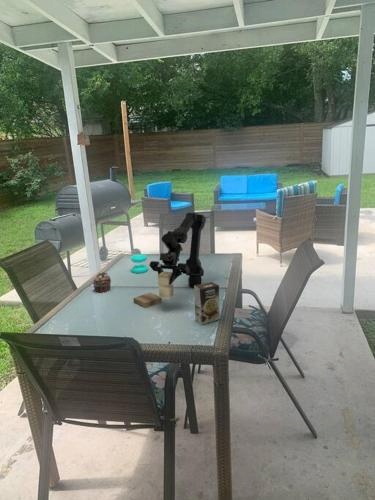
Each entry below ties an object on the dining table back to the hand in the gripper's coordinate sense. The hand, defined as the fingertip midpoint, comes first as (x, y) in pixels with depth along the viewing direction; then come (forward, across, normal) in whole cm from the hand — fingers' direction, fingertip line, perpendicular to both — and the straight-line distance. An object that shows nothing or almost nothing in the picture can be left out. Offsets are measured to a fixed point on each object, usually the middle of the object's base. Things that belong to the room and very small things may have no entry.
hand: (164, 283), depth 179 cm
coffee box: (+12, +22, +7) cm, 26 cm away
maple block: (+4, 0, +6) cm, 7 cm away
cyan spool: (-26, -44, +46) cm, 69 cm away
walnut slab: (+5, -14, +14) cm, 20 cm away
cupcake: (-1, -46, +20) cm, 51 cm away
